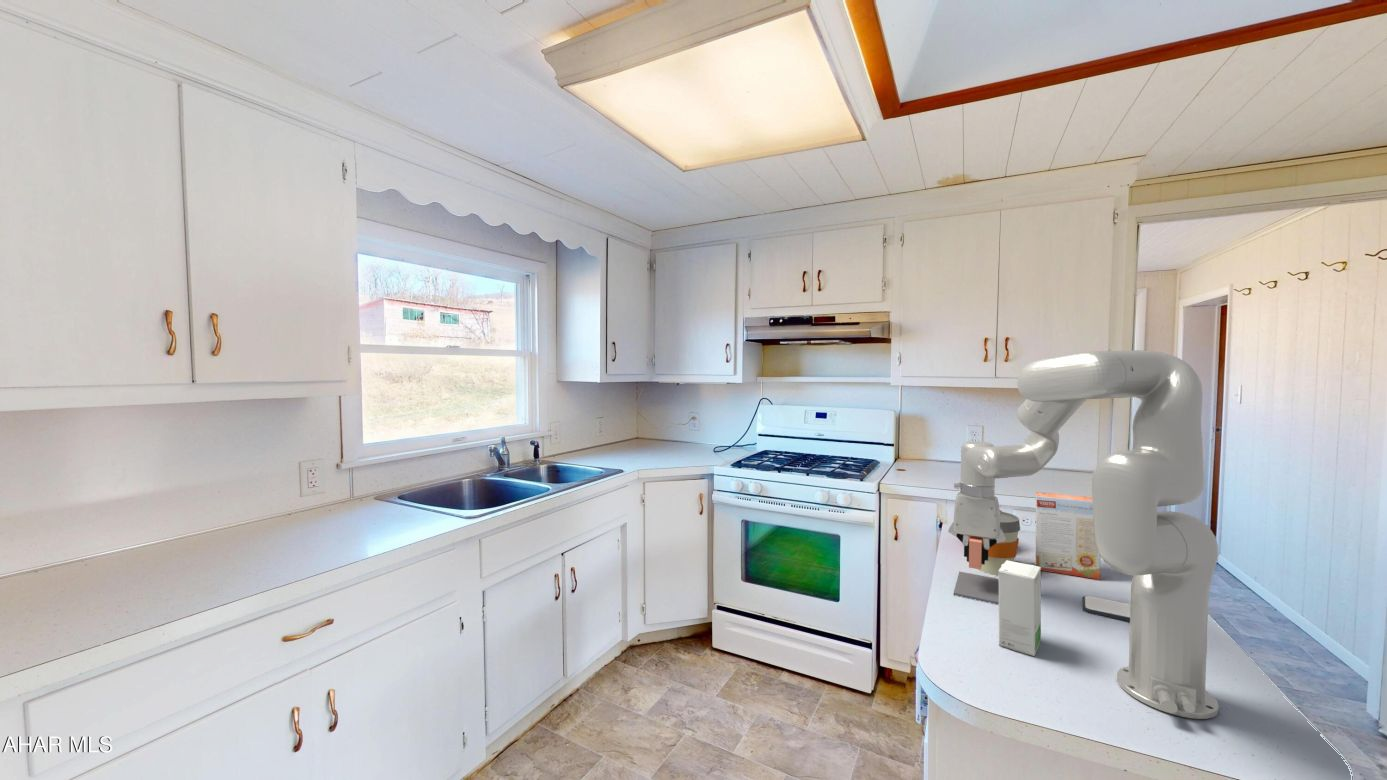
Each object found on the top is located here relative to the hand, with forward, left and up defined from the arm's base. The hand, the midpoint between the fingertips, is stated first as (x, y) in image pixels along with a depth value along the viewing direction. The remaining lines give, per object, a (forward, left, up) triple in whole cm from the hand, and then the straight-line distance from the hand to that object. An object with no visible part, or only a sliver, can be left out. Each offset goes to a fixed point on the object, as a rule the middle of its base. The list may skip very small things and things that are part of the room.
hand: (975, 560), depth 126 cm
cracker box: (+24, -20, -7) cm, 32 cm away
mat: (0, -3, -7) cm, 8 cm away
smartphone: (+2, -30, -8) cm, 31 cm away
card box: (0, 0, 0) cm, 0 cm away
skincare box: (-24, -9, -7) cm, 27 cm away
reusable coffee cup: (+16, -3, -7) cm, 18 cm away
